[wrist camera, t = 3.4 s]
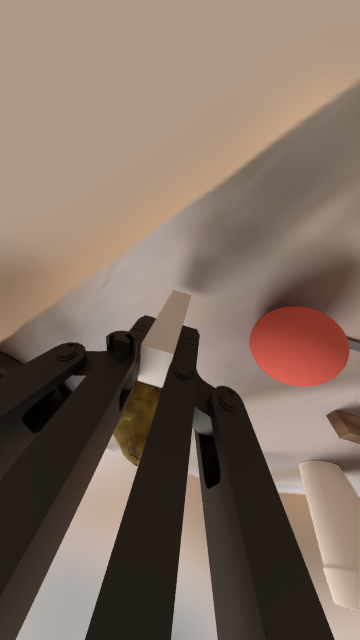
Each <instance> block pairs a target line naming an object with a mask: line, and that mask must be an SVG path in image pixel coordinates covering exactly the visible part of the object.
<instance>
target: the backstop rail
mask: <svg viewBox="0 0 360 640" xmlns="http://www.w3.org/2000/svg"><path fill="white" fill-rule="evenodd" d="M327 418H328V420H329V421H330V423H331V424H332V426H333V428H334V429H335V431H336V433H337V434H338V436H339V438H341V439H345V440H348V441H352V442H355V443H358V444H360V418H359V417H356V416H352V415H349V414H346V413H342V412H339V411H333V412H332V413H330V414H328V415H327Z"/></svg>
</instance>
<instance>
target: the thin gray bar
mask: <svg viewBox="0 0 360 640" xmlns="http://www.w3.org/2000/svg"><path fill="white" fill-rule="evenodd" d="M347 340H348V344H349V349H353V350H356V351H360V342H357V341H353V340H350V339H347Z"/></svg>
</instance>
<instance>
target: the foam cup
mask: <svg viewBox="0 0 360 640" xmlns="http://www.w3.org/2000/svg"><path fill="white" fill-rule="evenodd" d="M299 468H300V473H301V477H302V481H303V485H304V489H305V493H306V497H307V501H308V505H309V509H310V513H311V516H312V520H313V524H314V528H315V532H316V536H317V540H318V544H319V548H320V552H321V556H322V560H323V564H324V568H323V570H324V573H325V576H326V579H327V582H328V585H329V588H330V592H331V595H332V597H333V601H334V603H335V604H338V605H340V606H343V607H346V608H349V609H353V610H356V611H359V612H360V498H359V496H358V495H357V493H356V491H355V490H354V488H353V487H352V485H351V484H350V482H349V481H348V479H347V478H346V476H345V474H344V473H343V471H341V469H340V467H339V466H338V465H336V464H334V463H330V462H325V461H306V462H303V463H301V464H300V465H299Z"/></svg>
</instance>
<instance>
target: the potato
mask: <svg viewBox="0 0 360 640" xmlns="http://www.w3.org/2000/svg"><path fill="white" fill-rule="evenodd" d="M159 397H160V394H159V392H158V391H157V390H156V389H155V388H154V386H152V385H151V384H147V383H144V382H141V381H138V377H137V379H136V381H135V383H134V389H133V392H132V394H131V396H130V398H129V400H128V402H127V405H126V407H125V409H124V411H123V413H122V415H121V417H120V419H119V422H118V424H117V426H116V428H115V430H114V432H113V434H114V436H115V438H116V440H117V442H118V444H119V446H120V448H121V450H122V453H123V454H124V456H125V457H126V458H127V459H128V460H129V461H130V462H132V463H133V464H134V465H136V466H139V462H140V459H141V456H142V453H143V449H144V446H145V443H146V440H147V436H148V433H149V430H150V427H151V423H152V420H153V417H154V414H155V410H156V407H157V404H158V401H159Z"/></svg>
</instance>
